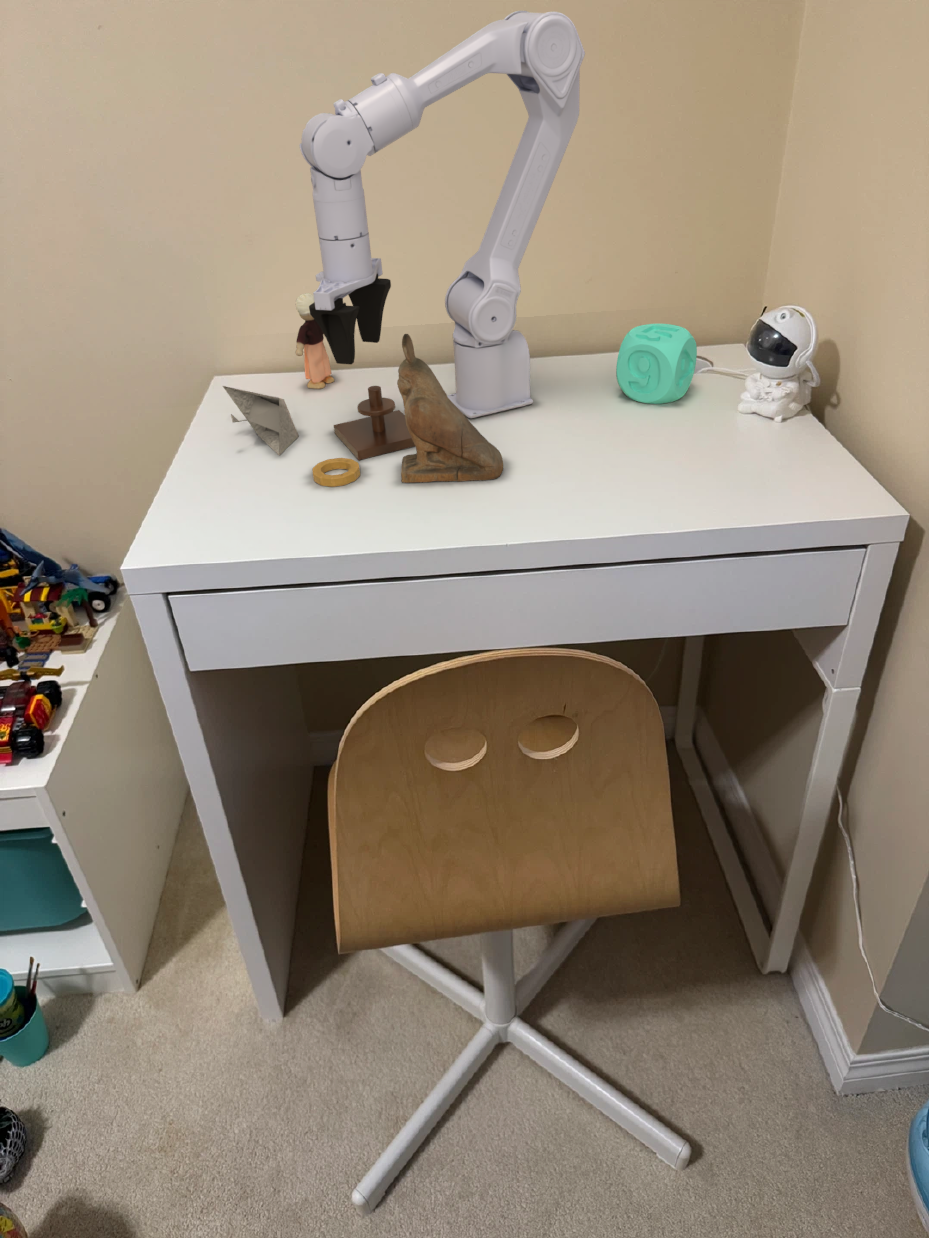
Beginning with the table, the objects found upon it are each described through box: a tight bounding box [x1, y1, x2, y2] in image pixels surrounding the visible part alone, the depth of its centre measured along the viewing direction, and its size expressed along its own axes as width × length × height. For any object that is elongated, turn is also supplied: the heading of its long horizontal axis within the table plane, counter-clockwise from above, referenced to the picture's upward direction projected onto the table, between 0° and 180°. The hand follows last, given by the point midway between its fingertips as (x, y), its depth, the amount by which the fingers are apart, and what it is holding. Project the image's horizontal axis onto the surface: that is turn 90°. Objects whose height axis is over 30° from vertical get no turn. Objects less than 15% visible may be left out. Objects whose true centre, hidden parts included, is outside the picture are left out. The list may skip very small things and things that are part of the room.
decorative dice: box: [615, 323, 698, 405], centre depth 118 cm, size 8×8×8 cm
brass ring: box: [312, 457, 361, 488], centre depth 105 cm, size 6×6×1 cm
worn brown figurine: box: [396, 333, 504, 484], centre depth 100 cm, size 12×6×18 cm, turn 87°
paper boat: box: [222, 385, 300, 456], centre depth 112 cm, size 12×6×9 cm
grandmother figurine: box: [295, 292, 335, 390], centre depth 125 cm, size 8×4×13 cm, turn 160°
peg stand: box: [333, 385, 415, 461], centre depth 111 cm, size 9×9×7 cm
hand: (358, 352), depth 110 cm, fingers open, 7 cm apart
